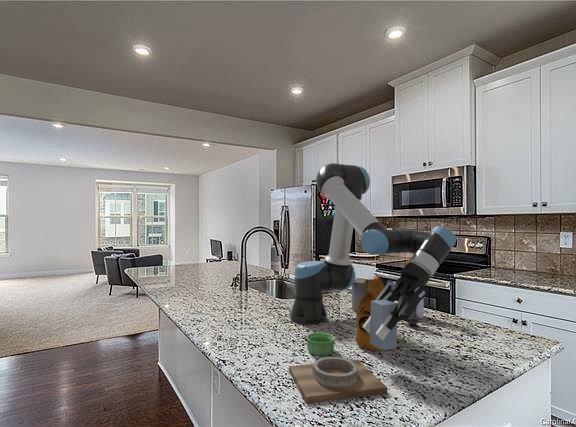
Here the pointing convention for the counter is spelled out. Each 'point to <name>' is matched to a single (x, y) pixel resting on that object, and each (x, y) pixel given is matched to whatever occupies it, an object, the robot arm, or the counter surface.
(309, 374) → the collar plate
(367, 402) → the counter surface
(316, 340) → the ramekin
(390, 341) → the slate peg
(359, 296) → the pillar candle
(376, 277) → the coffee package
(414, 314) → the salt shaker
